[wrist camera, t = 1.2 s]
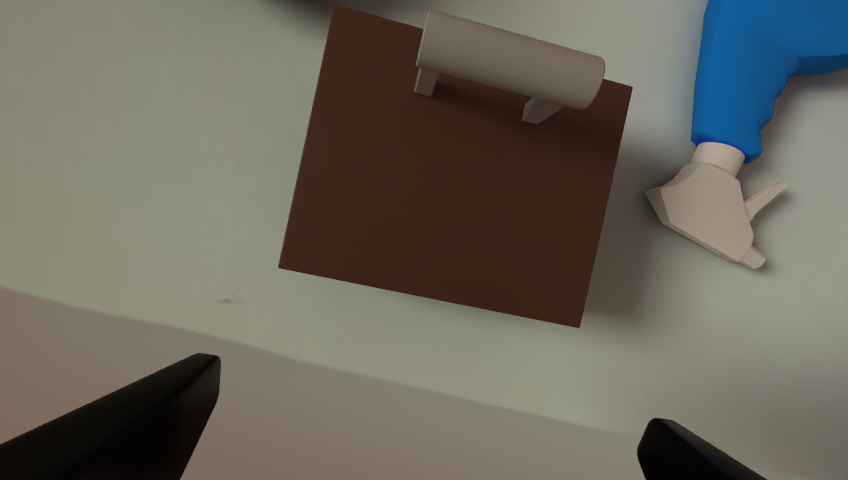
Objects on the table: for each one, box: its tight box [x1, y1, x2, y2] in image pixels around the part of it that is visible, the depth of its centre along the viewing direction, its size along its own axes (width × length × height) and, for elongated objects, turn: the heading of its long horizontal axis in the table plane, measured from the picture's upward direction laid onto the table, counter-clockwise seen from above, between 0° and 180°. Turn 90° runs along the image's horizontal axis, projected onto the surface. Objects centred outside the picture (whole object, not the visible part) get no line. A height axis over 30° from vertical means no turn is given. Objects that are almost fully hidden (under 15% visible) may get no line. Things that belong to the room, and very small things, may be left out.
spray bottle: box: [645, 0, 848, 269], centre depth 22 cm, size 3×11×24 cm
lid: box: [278, 5, 633, 328], centre depth 14 cm, size 10×13×5 cm
